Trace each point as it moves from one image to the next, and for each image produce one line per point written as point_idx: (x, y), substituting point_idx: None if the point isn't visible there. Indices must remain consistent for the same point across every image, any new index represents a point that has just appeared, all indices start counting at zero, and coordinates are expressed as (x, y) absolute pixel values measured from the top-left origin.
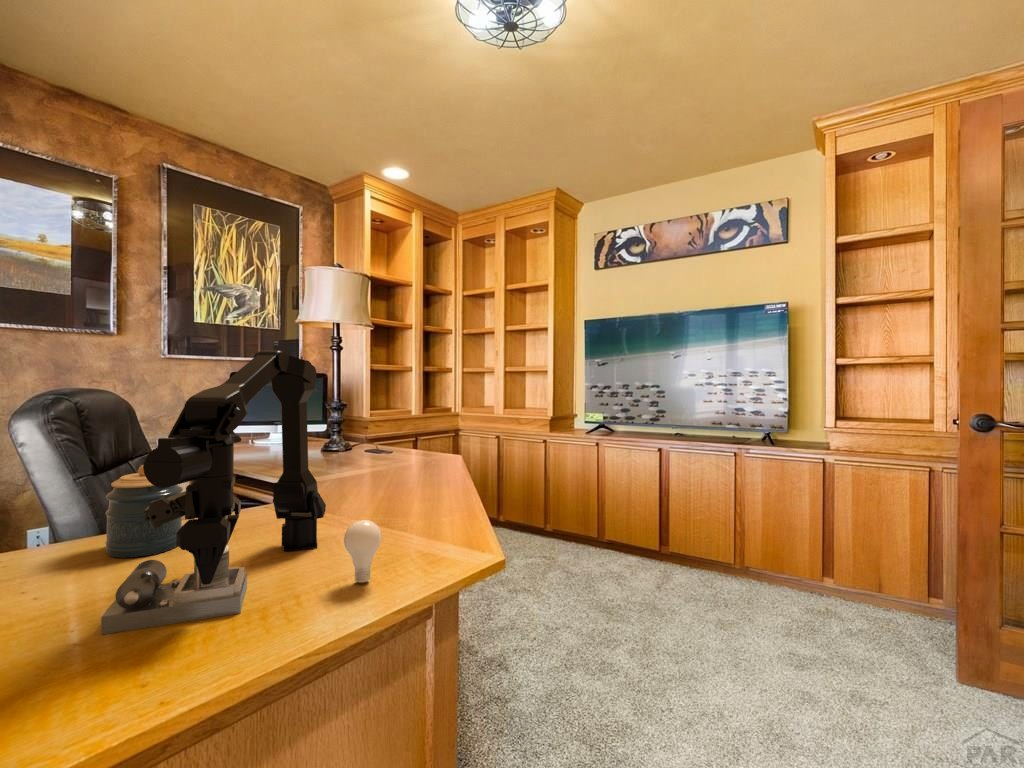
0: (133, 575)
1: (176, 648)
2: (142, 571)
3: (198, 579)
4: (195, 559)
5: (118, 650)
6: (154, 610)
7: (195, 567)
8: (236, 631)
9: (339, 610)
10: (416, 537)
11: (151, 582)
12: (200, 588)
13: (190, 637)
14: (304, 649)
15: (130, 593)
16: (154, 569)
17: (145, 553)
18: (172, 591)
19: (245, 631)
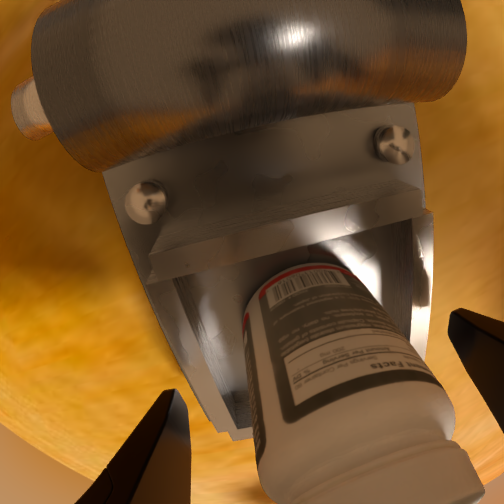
0: (113, 8)
1: (24, 305)
2: (193, 22)
3: (256, 338)
4: (79, 501)
5: (3, 159)
6: (109, 181)
7: (282, 362)
8: (113, 398)
9: (212, 495)
10: (478, 465)
11: (106, 155)
12: (246, 322)
13: (71, 316)
14: (81, 470)
15: (12, 110)
16: (311, 69)
17: None
18: (309, 161)
19: (116, 411)
